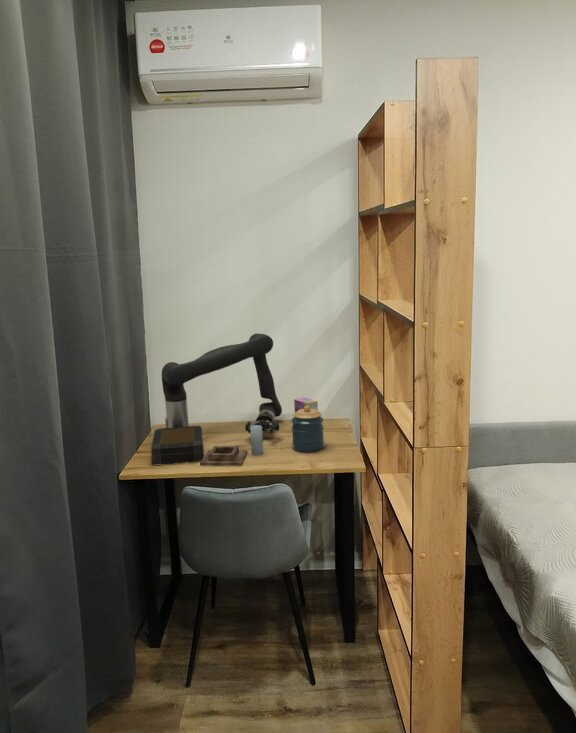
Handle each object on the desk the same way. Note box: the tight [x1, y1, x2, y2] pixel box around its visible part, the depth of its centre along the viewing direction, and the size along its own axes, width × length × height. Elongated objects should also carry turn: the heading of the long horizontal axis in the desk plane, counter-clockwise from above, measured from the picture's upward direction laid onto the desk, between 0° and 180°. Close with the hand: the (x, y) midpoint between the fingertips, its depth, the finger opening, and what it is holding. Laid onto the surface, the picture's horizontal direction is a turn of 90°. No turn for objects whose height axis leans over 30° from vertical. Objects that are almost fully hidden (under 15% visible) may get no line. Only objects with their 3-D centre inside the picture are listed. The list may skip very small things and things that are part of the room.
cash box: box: [150, 425, 205, 465], centre depth 247 cm, size 25×20×8 cm
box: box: [293, 396, 319, 413], centre depth 278 cm, size 10×6×12 cm, turn 37°
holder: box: [199, 445, 248, 467], centre depth 238 cm, size 16×14×4 cm
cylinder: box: [250, 425, 264, 456], centre depth 243 cm, size 5×5×11 cm
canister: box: [291, 406, 325, 453], centre depth 247 cm, size 13×13×18 cm
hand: (260, 431), depth 252 cm, fingers open, 8 cm apart
